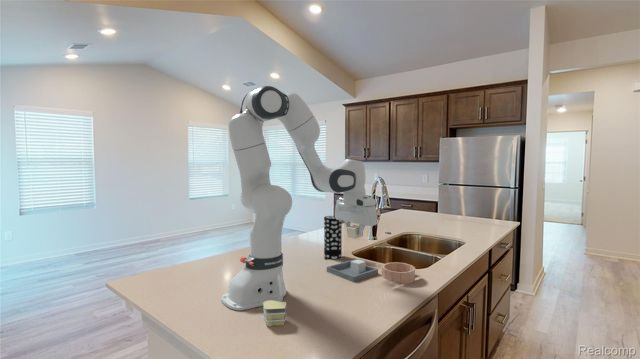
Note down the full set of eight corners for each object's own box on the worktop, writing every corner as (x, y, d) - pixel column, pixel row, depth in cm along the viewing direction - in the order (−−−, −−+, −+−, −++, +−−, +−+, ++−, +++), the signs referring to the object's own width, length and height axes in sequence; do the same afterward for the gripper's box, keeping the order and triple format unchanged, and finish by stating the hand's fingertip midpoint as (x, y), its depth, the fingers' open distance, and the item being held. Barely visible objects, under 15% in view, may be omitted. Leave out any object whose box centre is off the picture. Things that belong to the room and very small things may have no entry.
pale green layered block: (292, 315, 102) (292, 298, 101) (289, 330, 93) (289, 311, 92) (260, 315, 102) (260, 298, 101) (254, 330, 93) (253, 311, 92)
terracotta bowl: (401, 286, 123) (401, 275, 123) (375, 277, 133) (375, 266, 133) (421, 279, 131) (421, 267, 131) (395, 270, 141) (395, 260, 141)
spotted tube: (335, 262, 154) (335, 219, 152) (320, 259, 159) (320, 217, 157) (344, 257, 160) (344, 216, 159) (330, 255, 165) (330, 215, 164)
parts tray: (353, 284, 126) (353, 277, 126) (326, 273, 138) (326, 266, 138) (378, 275, 135) (378, 269, 135) (350, 266, 147) (350, 260, 147)
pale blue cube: (358, 273, 136) (358, 263, 136) (350, 270, 139) (350, 261, 139) (365, 271, 139) (365, 261, 138) (357, 268, 142) (357, 259, 142)
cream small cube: (355, 238, 130) (354, 229, 130) (347, 236, 134) (346, 227, 133) (363, 236, 133) (362, 226, 133) (354, 234, 137) (354, 224, 136)
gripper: (331, 198, 138) (331, 230, 139) (368, 202, 123) (368, 239, 123) (342, 196, 142) (342, 228, 143) (379, 200, 127) (379, 236, 128)
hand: (354, 233), depth 133 cm, fingers closed on cream small cube, 4 cm apart
